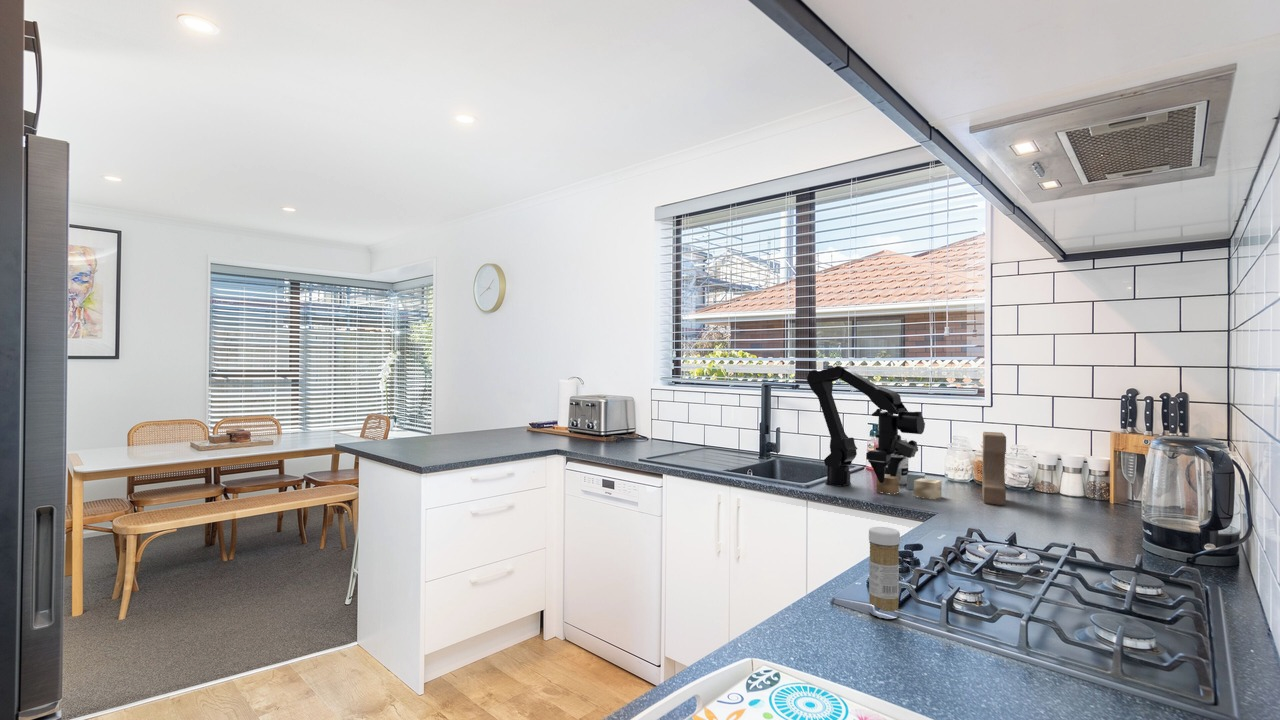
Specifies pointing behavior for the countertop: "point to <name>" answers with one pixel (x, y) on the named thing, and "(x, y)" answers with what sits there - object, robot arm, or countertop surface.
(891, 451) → the robot arm
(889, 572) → the sprinkles bottle
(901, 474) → the supplement can
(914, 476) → the slate cube
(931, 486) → the maple block
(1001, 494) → the decorative block
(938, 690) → the countertop surface
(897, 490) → the walnut cube
